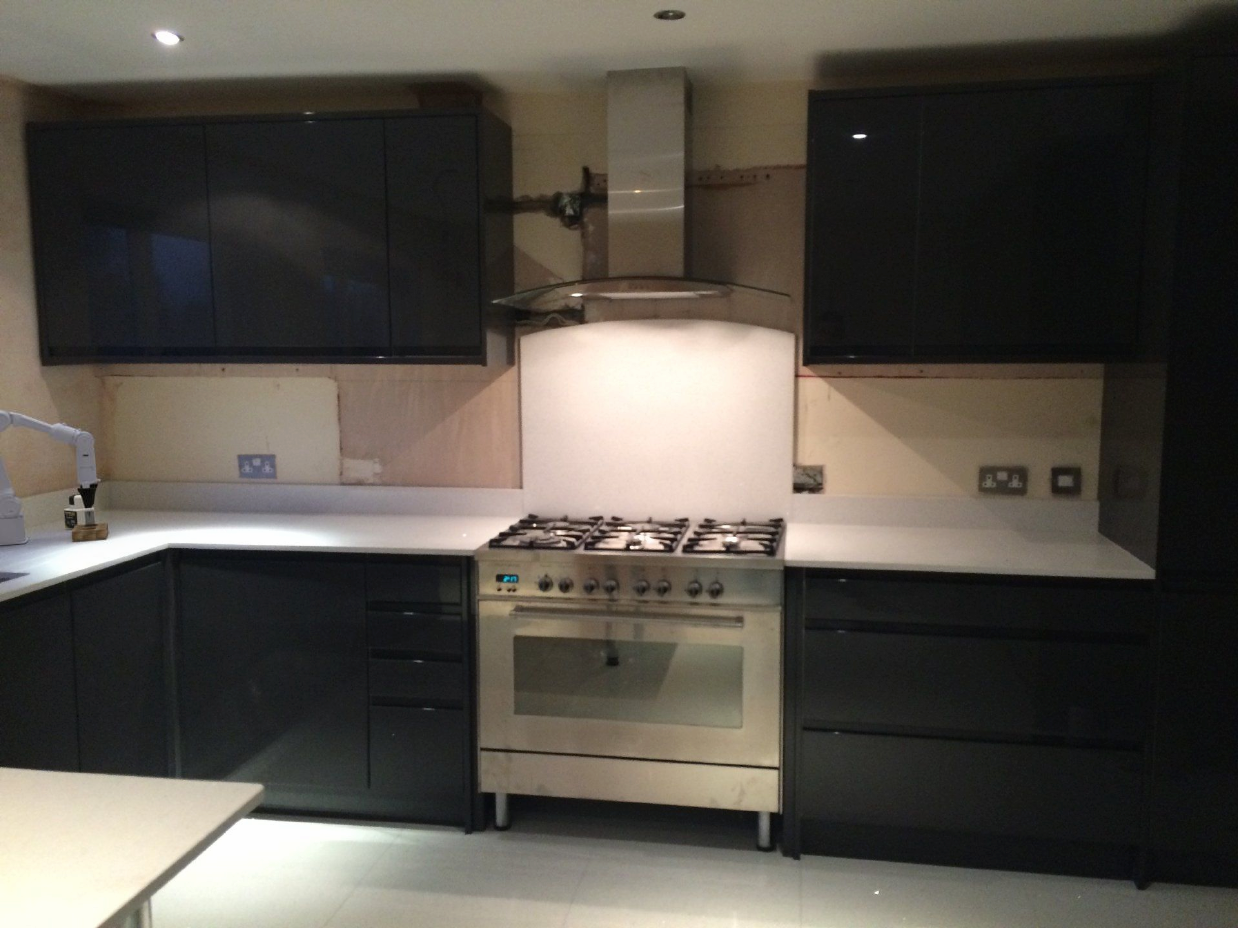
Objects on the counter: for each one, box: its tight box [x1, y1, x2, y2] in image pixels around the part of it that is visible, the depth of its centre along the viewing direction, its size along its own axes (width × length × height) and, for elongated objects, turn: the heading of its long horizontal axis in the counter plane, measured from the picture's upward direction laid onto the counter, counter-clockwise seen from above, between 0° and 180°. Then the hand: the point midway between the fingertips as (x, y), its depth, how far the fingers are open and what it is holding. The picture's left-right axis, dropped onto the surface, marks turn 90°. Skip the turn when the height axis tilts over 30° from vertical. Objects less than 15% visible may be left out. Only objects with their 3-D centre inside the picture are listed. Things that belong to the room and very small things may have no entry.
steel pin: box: [84, 510, 96, 527], centre depth 345 cm, size 3×3×8 cm
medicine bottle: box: [63, 493, 97, 530], centre depth 360 cm, size 7×7×12 cm
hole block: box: [71, 522, 109, 543], centre depth 342 cm, size 10×14×4 cm
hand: (89, 506), depth 344 cm, fingers open, 7 cm apart
